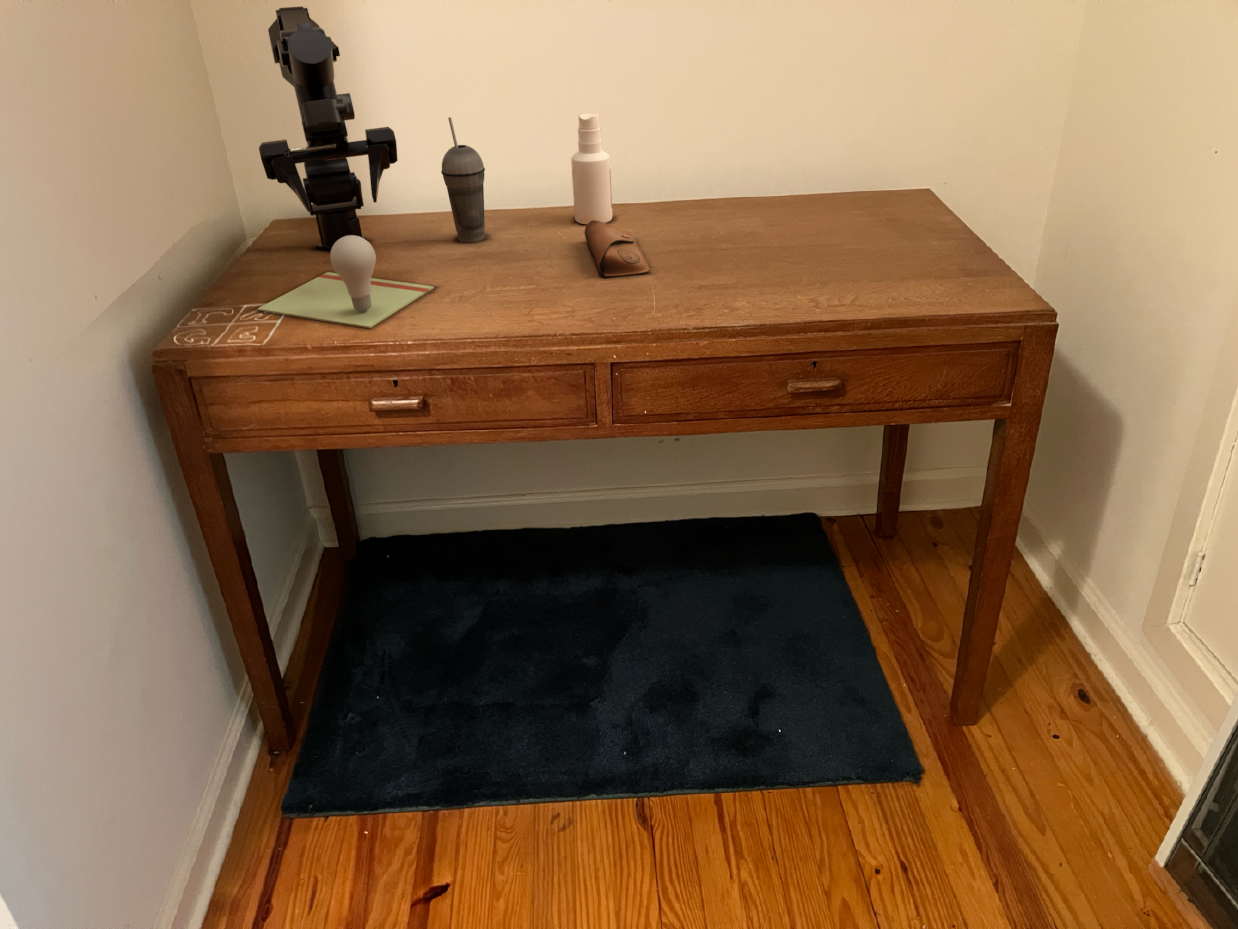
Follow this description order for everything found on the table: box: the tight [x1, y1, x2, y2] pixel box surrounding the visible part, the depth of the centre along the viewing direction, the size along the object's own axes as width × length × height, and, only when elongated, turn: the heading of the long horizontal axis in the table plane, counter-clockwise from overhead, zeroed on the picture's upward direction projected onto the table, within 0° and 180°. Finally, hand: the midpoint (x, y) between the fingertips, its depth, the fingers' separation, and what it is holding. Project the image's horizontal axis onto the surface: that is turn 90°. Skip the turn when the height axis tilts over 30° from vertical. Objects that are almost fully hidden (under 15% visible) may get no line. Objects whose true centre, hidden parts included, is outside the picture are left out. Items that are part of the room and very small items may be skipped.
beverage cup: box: [440, 116, 486, 243], centre depth 153 cm, size 7×7×20 cm
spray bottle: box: [570, 112, 613, 225], centre depth 160 cm, size 7×7×18 cm
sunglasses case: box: [584, 220, 651, 278], centre depth 147 cm, size 18×7×7 cm
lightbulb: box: [329, 235, 377, 312], centre depth 128 cm, size 6×6×11 cm
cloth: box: [257, 271, 435, 329], centre depth 136 cm, size 20×16×1 cm
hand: (342, 205), depth 130 cm, fingers open, 9 cm apart
